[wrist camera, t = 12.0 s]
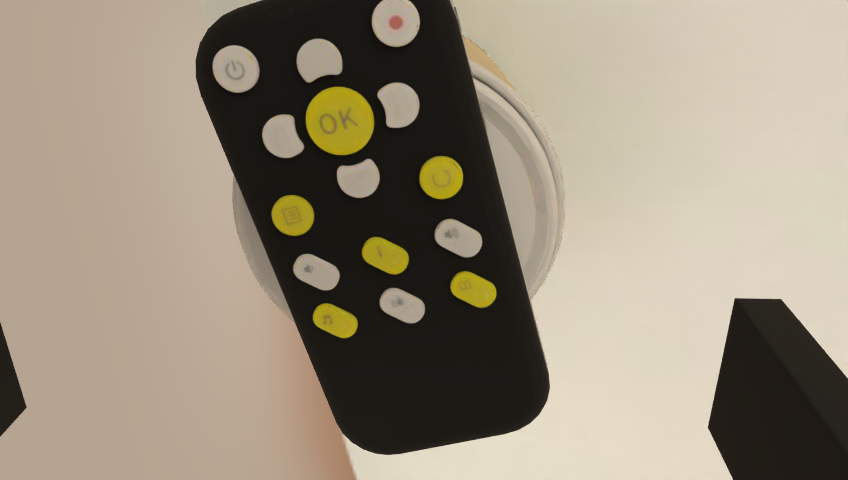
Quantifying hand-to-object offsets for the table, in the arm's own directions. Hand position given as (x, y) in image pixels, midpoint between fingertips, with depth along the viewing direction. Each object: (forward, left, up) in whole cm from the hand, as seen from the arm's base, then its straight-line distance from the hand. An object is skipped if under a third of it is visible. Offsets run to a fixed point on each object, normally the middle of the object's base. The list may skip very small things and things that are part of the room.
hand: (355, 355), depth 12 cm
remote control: (0, 0, -7) cm, 7 cm away
